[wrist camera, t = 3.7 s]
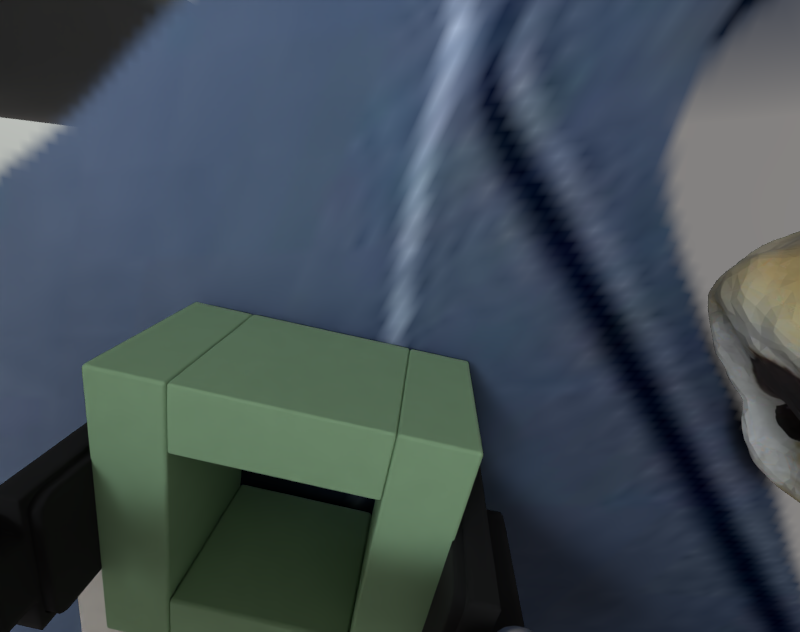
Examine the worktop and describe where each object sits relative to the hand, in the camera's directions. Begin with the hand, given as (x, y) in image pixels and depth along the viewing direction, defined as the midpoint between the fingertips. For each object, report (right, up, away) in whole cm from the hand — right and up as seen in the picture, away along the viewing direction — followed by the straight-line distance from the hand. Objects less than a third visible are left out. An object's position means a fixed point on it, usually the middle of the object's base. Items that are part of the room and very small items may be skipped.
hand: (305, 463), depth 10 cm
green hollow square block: (0, 0, +1) cm, 1 cm away
